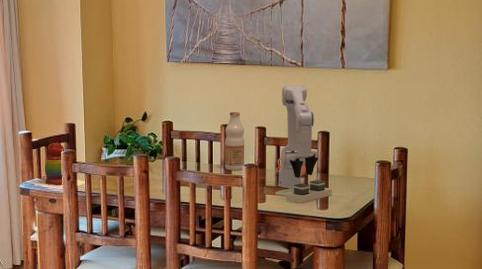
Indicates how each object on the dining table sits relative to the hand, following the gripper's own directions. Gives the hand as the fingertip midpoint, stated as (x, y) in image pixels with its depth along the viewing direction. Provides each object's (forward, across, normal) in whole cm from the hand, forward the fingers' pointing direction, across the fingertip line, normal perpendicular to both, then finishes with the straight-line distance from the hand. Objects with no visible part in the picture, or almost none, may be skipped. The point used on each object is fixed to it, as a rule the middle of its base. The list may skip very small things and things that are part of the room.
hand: (303, 176), depth 276 cm
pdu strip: (+10, +3, -1) cm, 10 cm away
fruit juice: (+10, +27, +66) cm, 72 cm away
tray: (+10, +2, +8) cm, 13 cm away
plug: (+9, -2, -1) cm, 9 cm away
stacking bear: (+10, -53, +97) cm, 111 cm away
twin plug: (+9, +8, -1) cm, 12 cm away
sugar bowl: (+10, +34, +35) cm, 50 cm away
